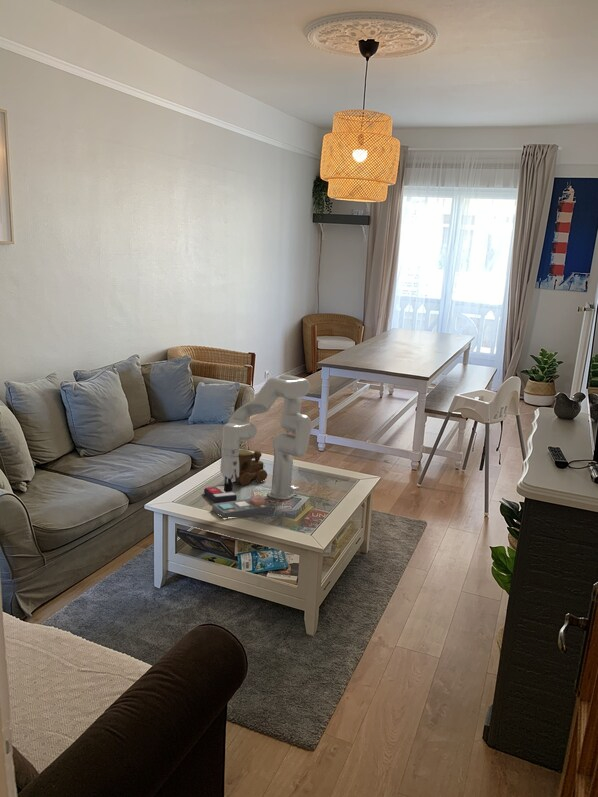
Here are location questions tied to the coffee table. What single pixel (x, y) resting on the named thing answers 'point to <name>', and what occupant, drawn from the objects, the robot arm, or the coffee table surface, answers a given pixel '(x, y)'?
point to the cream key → (242, 504)
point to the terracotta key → (257, 501)
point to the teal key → (226, 507)
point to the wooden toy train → (250, 467)
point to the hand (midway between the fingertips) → (227, 491)
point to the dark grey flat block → (241, 509)
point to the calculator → (219, 495)
